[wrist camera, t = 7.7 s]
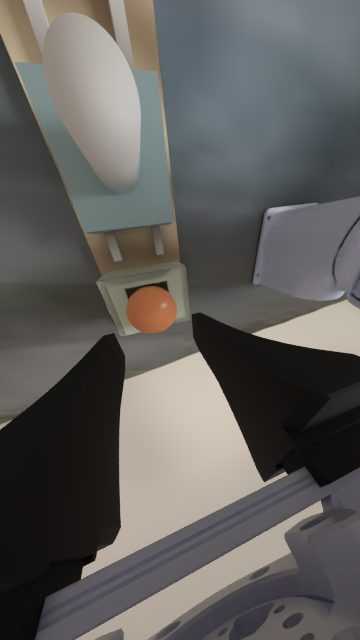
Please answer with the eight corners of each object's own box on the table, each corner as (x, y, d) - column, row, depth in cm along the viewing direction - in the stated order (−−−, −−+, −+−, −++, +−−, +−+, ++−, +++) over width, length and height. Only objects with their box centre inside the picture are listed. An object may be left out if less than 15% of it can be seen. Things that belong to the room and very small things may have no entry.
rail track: (183, 308, 21) (188, 316, 19) (123, 322, 19) (121, 332, 17) (117, -276, 6) (106, -589, 4) (-177, -414, 4) (-501, -1085, 2)
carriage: (168, 224, 14) (194, 212, 7) (94, 233, 13) (49, 228, 6) (152, 109, 10) (180, -127, 4) (45, 107, 9) (-199, -245, 2)
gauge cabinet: (179, 303, 20) (190, 319, 16) (121, 316, 19) (116, 337, 15) (174, 259, 17) (186, 266, 13) (103, 271, 16) (91, 283, 11)
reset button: (171, 309, 17) (179, 326, 14) (135, 317, 16) (135, 338, 13) (165, 273, 15) (173, 283, 11) (123, 281, 14) (118, 294, 10)
